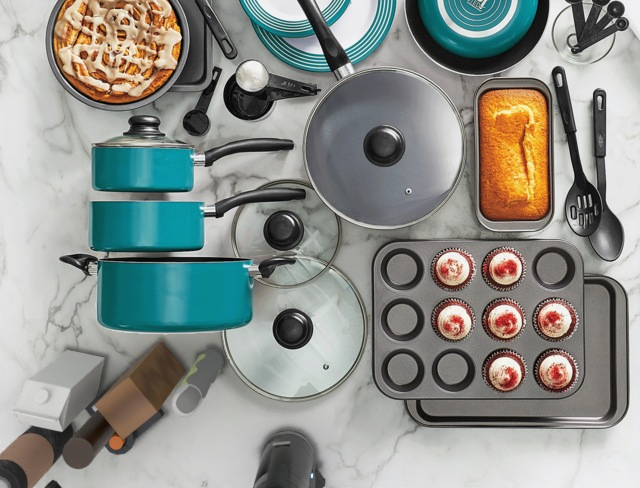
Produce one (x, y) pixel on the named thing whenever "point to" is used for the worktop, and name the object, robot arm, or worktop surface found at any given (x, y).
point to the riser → (141, 390)
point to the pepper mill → (87, 441)
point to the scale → (132, 437)
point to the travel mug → (31, 456)
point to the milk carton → (60, 391)
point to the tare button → (116, 442)
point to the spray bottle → (197, 383)
